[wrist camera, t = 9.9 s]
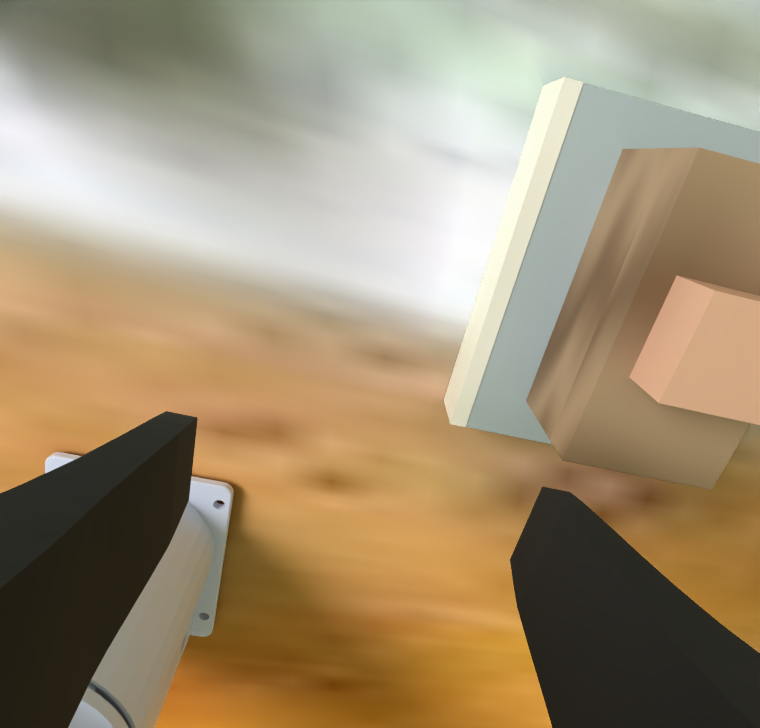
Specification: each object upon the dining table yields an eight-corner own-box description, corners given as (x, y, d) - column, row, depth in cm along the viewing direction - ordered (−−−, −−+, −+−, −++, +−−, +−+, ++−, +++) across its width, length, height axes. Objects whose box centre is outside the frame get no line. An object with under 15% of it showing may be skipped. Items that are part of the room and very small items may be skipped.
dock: (661, 445, 22) (687, 472, 20) (443, 400, 21) (450, 424, 19) (810, 159, 18) (862, 160, 16) (543, 85, 17) (564, 77, 15)
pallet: (647, 426, 19) (711, 490, 16) (525, 401, 19) (562, 460, 15) (767, 187, 16) (883, 197, 12) (622, 148, 16) (699, 147, 12)
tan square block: (724, 398, 15) (764, 426, 13) (629, 377, 14) (658, 402, 13) (779, 300, 13) (829, 318, 12) (676, 275, 13) (715, 290, 12)
